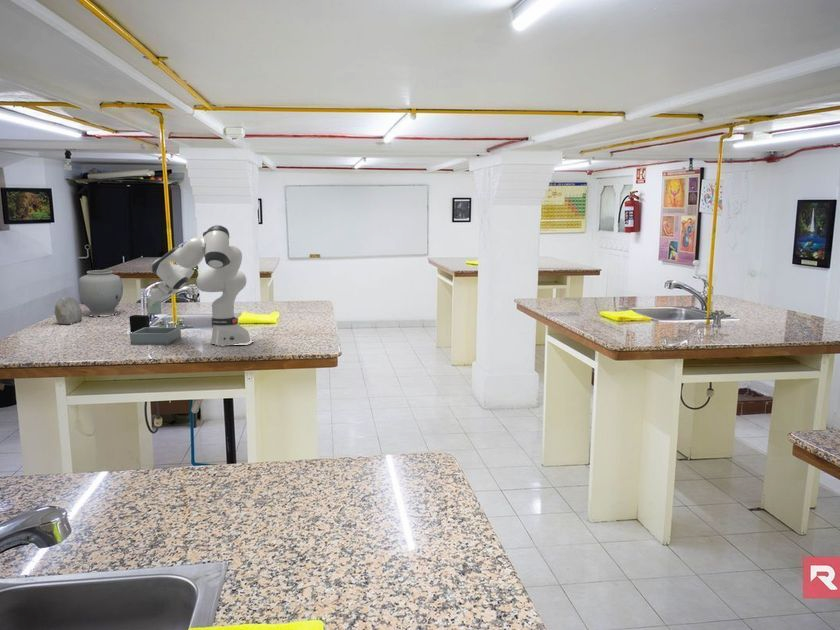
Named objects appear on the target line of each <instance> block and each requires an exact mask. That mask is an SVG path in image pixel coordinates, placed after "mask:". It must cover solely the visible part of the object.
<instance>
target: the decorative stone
mask: <svg viewBox="0 0 840 630" xmlns="http://www.w3.org/2000/svg"><path fill="white" fill-rule="evenodd" d="M54 306H55V307H54V316H55V318H56V323H58V324H61V325H69V324H70V325H72V324H71V323H74V324H76V323H75V322H77V323H79V322H82V320H83V319H82V317H83V313H82V312H83V311H82V308H81V306H80V305H79V302H78V301H77V299H76V298H74V297H70V296H64V297H60V298H59V299H58V300H57V302H56V303H55V305H54ZM78 321H79V322H78Z"/></svg>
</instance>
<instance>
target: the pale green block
mask: <svg viewBox="0 0 840 630" xmlns="http://www.w3.org/2000/svg"><path fill="white" fill-rule="evenodd" d="M146 299H147V301H146V302H147V315H159V314H162V303H161V302H162V301H161V300H160V301H158V302H155V303H154V305H153V306H150V305H149V303H150V302H151V300H150V296H148V297H146Z"/></svg>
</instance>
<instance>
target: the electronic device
mask: <svg viewBox="0 0 840 630" xmlns="http://www.w3.org/2000/svg"><path fill="white" fill-rule="evenodd" d="M128 319H129V331H130V333H131V332H135V331H137V330H140V329H142V328H145V327H151V326H150V315H149V314H147V315H145V314H134V315H133V314H132V315H130V316H129V318H128Z"/></svg>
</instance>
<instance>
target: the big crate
mask: <svg viewBox="0 0 840 630" xmlns="http://www.w3.org/2000/svg"><path fill="white" fill-rule="evenodd" d="M129 339H130V345H131V346H132V345H136V346H137V345H138V346H169V345H171V344H173V343H175V342H176V341H179V340H181V339H182V332H181V327H151V326H150V327H145V328H142V329H140V330H137V331H135V332H132V333H131V332H130V333H129Z"/></svg>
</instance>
